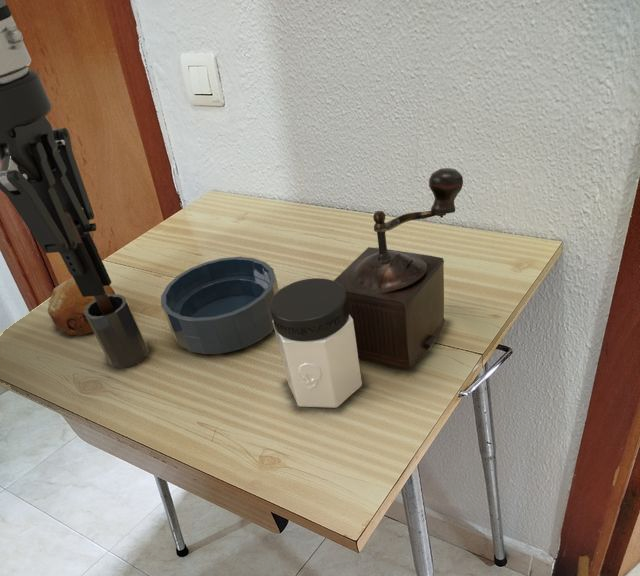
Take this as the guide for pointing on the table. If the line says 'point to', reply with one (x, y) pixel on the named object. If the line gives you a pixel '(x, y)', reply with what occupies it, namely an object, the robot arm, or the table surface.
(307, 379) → the jar
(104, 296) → the stick
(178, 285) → the bowl
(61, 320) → the bread roll
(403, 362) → the manual coffee grinder
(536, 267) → the table surface
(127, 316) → the holder
